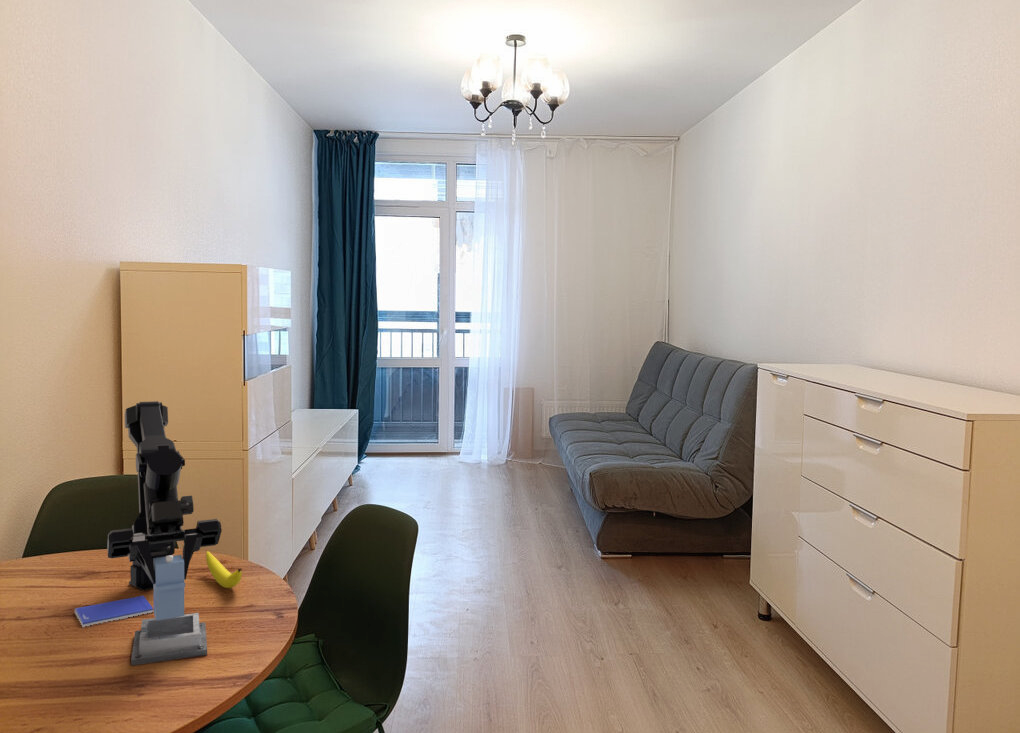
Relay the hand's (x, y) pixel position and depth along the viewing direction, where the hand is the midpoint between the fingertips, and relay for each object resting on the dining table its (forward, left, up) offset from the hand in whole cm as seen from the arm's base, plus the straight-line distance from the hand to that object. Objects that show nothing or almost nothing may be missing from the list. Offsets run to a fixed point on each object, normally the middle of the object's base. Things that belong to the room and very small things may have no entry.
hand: (169, 580), depth 135 cm
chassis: (-1, -1, -12) cm, 13 cm away
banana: (-23, -20, -13) cm, 33 cm away
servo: (-1, -1, -7) cm, 7 cm away
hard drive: (-1, -23, -13) cm, 26 cm away
